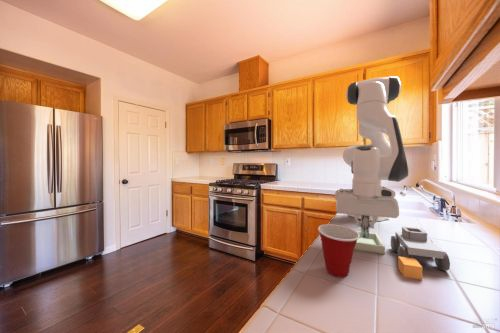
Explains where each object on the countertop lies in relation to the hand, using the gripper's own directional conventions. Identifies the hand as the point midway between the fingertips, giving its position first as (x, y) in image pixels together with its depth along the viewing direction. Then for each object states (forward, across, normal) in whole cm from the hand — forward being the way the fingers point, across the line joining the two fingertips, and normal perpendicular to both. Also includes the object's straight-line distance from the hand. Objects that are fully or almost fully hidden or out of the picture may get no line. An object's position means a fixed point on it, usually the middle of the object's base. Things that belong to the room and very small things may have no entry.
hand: (365, 227), depth 77 cm
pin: (+4, 0, 0) cm, 4 cm away
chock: (+7, +9, -17) cm, 21 cm away
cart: (+6, +14, -7) cm, 16 cm away
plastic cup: (+7, -10, -24) cm, 27 cm away
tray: (+6, 0, 0) cm, 7 cm away
